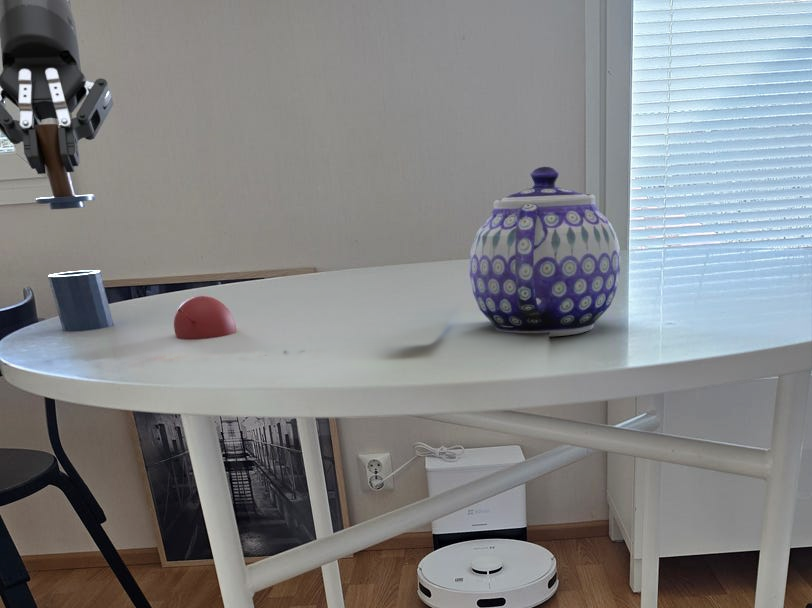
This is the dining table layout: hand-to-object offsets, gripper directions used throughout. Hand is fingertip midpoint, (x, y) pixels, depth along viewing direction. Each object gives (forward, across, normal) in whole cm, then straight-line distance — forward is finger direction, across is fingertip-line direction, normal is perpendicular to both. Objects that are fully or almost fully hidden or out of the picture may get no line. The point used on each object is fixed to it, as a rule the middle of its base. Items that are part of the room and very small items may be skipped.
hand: (52, 165), depth 87 cm
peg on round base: (+1, 0, -4) cm, 4 cm away
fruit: (+21, -12, -5) cm, 24 cm away
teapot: (+25, -47, -1) cm, 53 cm away
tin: (+10, +1, -15) cm, 18 cm away
